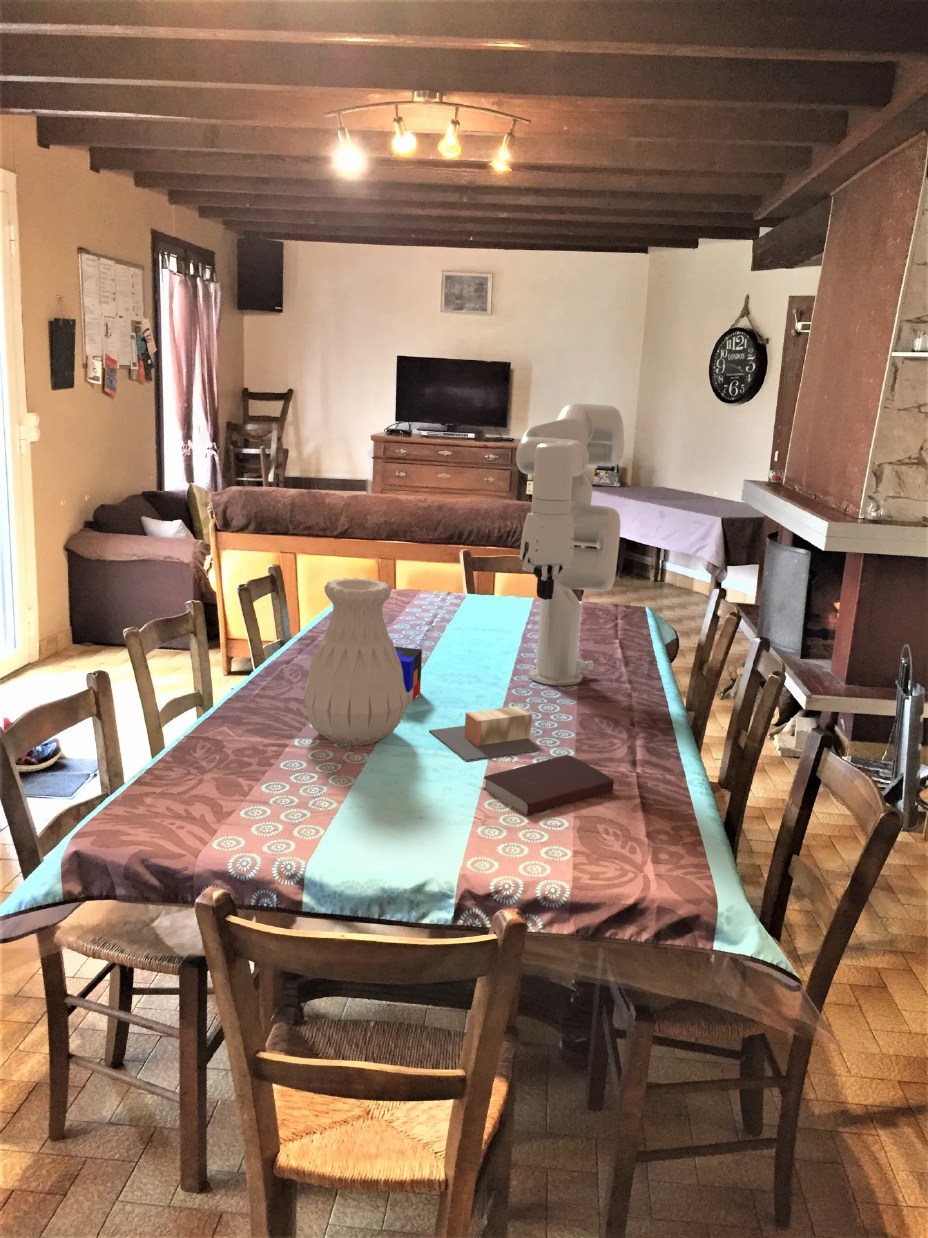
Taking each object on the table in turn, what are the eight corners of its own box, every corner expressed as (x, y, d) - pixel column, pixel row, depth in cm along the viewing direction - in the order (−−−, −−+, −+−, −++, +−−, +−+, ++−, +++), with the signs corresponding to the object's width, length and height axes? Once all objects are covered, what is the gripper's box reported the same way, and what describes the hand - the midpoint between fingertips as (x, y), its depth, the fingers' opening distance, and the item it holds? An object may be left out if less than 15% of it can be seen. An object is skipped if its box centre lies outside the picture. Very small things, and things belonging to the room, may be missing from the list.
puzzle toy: (408, 707, 206) (410, 661, 203) (363, 701, 208) (364, 656, 205) (420, 692, 215) (422, 649, 213) (376, 687, 217) (378, 644, 215)
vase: (427, 739, 188) (434, 588, 180) (345, 764, 174) (348, 601, 167) (363, 711, 202) (366, 569, 194) (281, 731, 188) (282, 580, 180)
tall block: (519, 705, 194) (465, 712, 188) (531, 714, 189) (477, 721, 184) (517, 729, 195) (464, 736, 189) (530, 738, 190) (476, 745, 185)
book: (613, 795, 168) (615, 777, 167) (527, 819, 157) (528, 801, 156) (566, 770, 178) (567, 753, 177) (481, 791, 167) (482, 773, 166)
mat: (499, 722, 199) (499, 721, 199) (540, 750, 185) (540, 748, 185) (428, 731, 192) (429, 730, 192) (465, 761, 178) (465, 759, 178)
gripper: (571, 502, 196) (564, 590, 201) (508, 505, 189) (502, 596, 194) (593, 508, 189) (585, 599, 194) (528, 511, 182) (522, 606, 187)
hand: (544, 597), depth 194 cm, fingers closed
